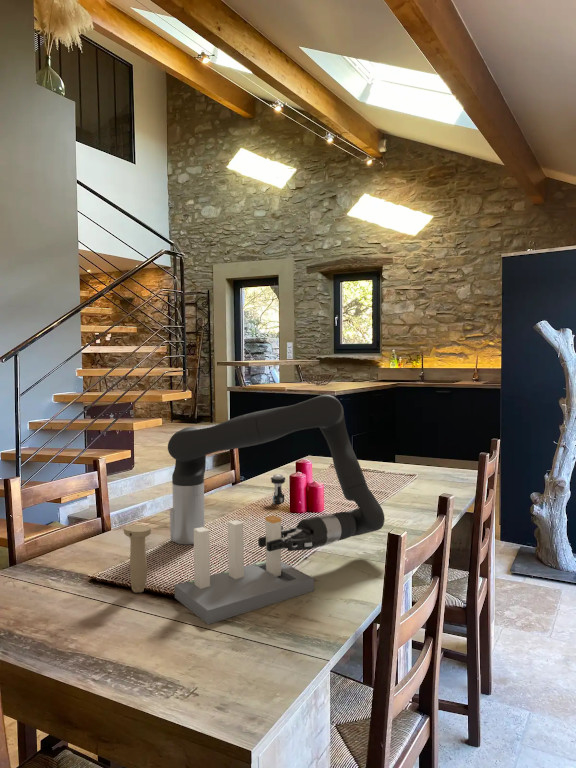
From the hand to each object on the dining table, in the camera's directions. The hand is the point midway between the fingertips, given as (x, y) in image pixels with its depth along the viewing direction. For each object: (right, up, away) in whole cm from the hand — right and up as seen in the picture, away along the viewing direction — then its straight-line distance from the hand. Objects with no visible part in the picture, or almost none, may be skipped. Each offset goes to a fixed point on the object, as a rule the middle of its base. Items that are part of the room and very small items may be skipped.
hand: (263, 544), depth 140 cm
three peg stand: (-4, -10, -4) cm, 12 cm away
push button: (+2, -5, +74) cm, 74 cm away
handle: (-29, -10, -2) cm, 31 cm away
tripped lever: (+2, -8, +2) cm, 8 cm away
